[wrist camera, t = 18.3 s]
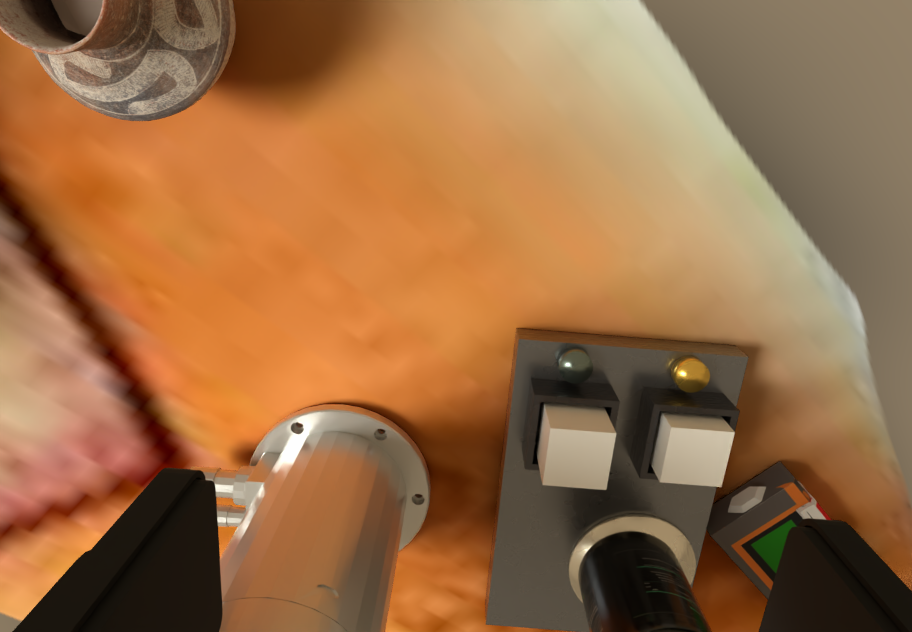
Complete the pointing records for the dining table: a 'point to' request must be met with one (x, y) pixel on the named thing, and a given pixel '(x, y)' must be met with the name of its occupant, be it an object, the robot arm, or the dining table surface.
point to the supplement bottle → (637, 587)
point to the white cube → (691, 448)
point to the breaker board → (631, 475)
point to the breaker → (575, 445)
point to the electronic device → (761, 522)
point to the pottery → (127, 50)
